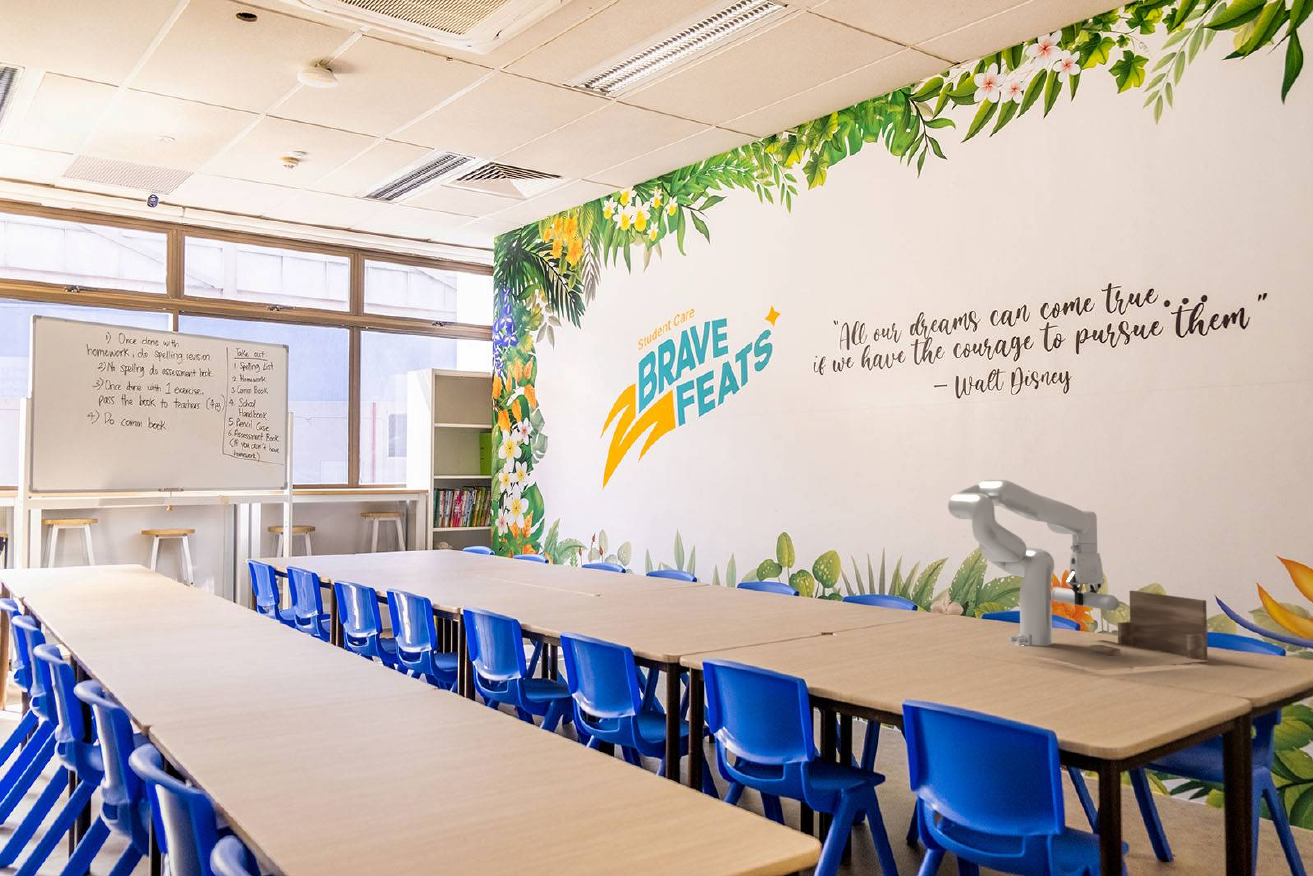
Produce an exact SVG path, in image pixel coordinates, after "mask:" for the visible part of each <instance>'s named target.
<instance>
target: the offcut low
mask: <svg viewBox="0 0 1313 876" xmlns="http://www.w3.org/2000/svg"><path fill="white" fill-rule="evenodd" d="M1087 653H1091V654H1095V655H1099V656H1103V657H1107V658H1121V657H1122V658H1123V657H1124V658H1125V656H1124V655H1121V654H1120V656H1106V655H1101V654H1097V653H1093V652H1090V650H1089V651H1087Z"/></svg>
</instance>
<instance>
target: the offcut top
mask: <svg viewBox="0 0 1313 876" xmlns="http://www.w3.org/2000/svg"><path fill="white" fill-rule="evenodd" d="M1089 646H1090V647H1089V651H1090V652H1093V653H1092V654H1094V653H1097V654H1096V655H1098V654H1101V655H1100V656H1102V655H1106V656H1105V657H1107V656H1120V655H1121V648H1118V647H1112V646H1109V645H1105V644H1090V645H1089Z"/></svg>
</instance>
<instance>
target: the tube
mask: <svg viewBox="0 0 1313 876" xmlns="http://www.w3.org/2000/svg"><path fill="white" fill-rule="evenodd" d="M1081 593H1083V605H1079V606H1082V607H1086V608H1087V607H1088V608H1094V609H1100V610H1106V611H1115V610H1117V608H1119V606H1120V602H1119V600H1118V598H1117V597H1116V596H1114V595H1111V594H1106V593H1105V594H1104V593H1099V592H1097V593H1092V592H1089V591H1084V590H1082V591H1081ZM1051 600H1053V601H1054V602H1055V603H1063V604H1064V603H1065V604H1069V605H1076V604H1075V592H1073V590H1072V589H1071V588H1065V587H1061V586H1054V587H1053V589H1051ZM1076 606H1077V605H1076Z"/></svg>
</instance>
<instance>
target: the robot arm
mask: <svg viewBox="0 0 1313 876" xmlns="http://www.w3.org/2000/svg"><path fill="white" fill-rule="evenodd" d="M947 504H948V505H947V507H948V508H947V509H948V511H949V513H950V514H951V515H952V516H953V517H954V518H956V519H959V520H971V527H972V533H973V537H974V539H975V541H976V542H978V543H979V544H978V548H979V551H980V554H981V555H982V557H983V558H985V560H986V561H988V562H990V563H991V564H993V565H995V567H997V568H1000V569H1001V570H1002V571H1004V572H1006V573H1008V574H1010V575H1011V576H1012V575H1013V576H1016V577H1023V578H1022V581H1021V584H1020V587H1019V626H1020V627H1019V628H1020V629H1019V632H1017V634H1016V635H1009V636H1008V637H1007V641H1008V643H1015V644H1014V645H1015V647H1022V646H1029V647H1030V646H1035V647H1036V646H1039V647H1047V646H1052V645H1053V644H1055V643H1054V642H1053V628H1052V627H1053V626H1052V625H1053V624H1052V623H1053V622H1052V616H1053V615H1052V611H1053V610H1052V599H1051V592H1052V583H1053V582H1052V581H1053V576H1054V570H1055V560H1054V558H1053V556H1052V555H1051V553H1050V552H1049V551H1046V550H1044V549H1042V548H1036V547H1035V548H1034V547H1027V545H1026V543H1025V541H1024V540H1023V539H1022V538H1021V537H1020V536H1018V535H1017V534H1015V533H1013V532H1012V531H1010V530H1009V529H1007V528H1006V527H1004V526H1002V524H1000V523H998V522H997V519H996V517H995V507H1001V508H1003V509H1005V510H1007V511H1010V512H1012V513H1014V514H1016V515H1019V516H1020V517H1023V518H1024V519H1027V520H1032V521H1035V522H1042V523H1046V525H1047V526H1048V529H1049V530H1050V531H1052V532H1053V533H1056V534H1062V535H1063V534H1064V535H1072V536H1071V537H1072V538H1071V539H1072V540H1071V541H1072V543H1071V546H1070V550H1071V551H1072V552H1071V553H1070V554H1071V555H1070V559H1069V570H1068V571H1069V576H1068V578H1067V580H1066V582H1065V583H1066V585H1067V586H1069V587H1070V588H1069V589H1072V590H1073V592H1075V604H1076V606H1080V605H1083V593H1081V591H1083V585H1088V588H1089V590H1088V592H1092V593H1099V591H1100V588H1101V587H1102V586H1103V584H1104V583H1105V581H1106V580H1105V579H1104V576H1103V564H1102V559H1101V558H1102V557H1101V554H1100V552H1098V519H1097V517H1098V516H1097V513H1096V512H1095V511H1088V510H1081V509H1079V508H1076V507H1074V506H1072V505H1070V504H1067V503H1064V502H1062V501H1059V500H1055V499H1053V498H1050V497H1047V496H1043V495H1040V494H1037V493H1035V492H1033V491H1031V490H1029V489H1027V488H1025V487H1022V486H1020V485H1019V484H1016V483H1014V482H1013V481H1010V480H1007V479H987V480H983V481H980V482H977V483H976V484H973V485H971V486H969V487H967V488H964V489H962V490H960V491H957V492H956V493H954V494H953V495H952V496H951V497H950V499H949V501H948V503H947Z"/></svg>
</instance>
